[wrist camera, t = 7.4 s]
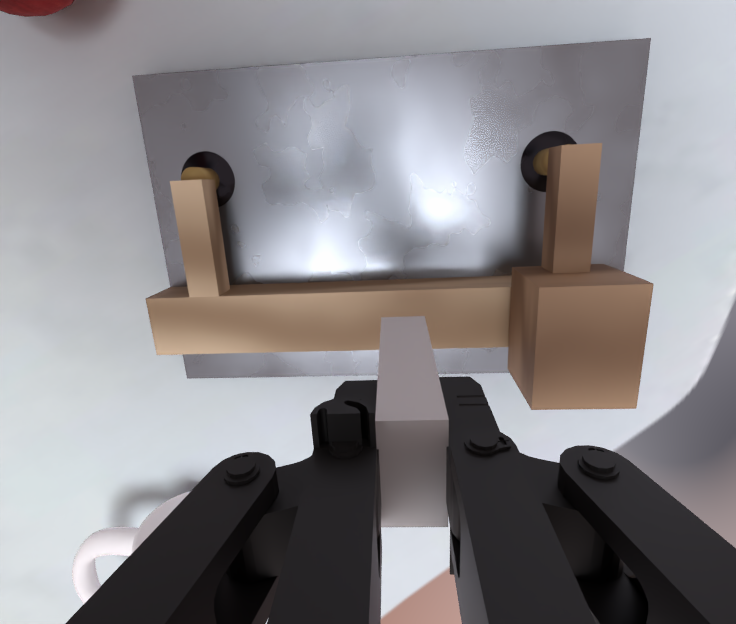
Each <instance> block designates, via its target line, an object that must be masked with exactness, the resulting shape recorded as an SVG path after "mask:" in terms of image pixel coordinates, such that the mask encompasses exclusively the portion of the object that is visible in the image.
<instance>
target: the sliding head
mask: <svg viewBox="0 0 736 624" xmlns="http://www.w3.org/2000/svg"><path fill="white" fill-rule="evenodd" d="M601 152H602V143H592V144H574V145H571V144H566V145H560V146H556V147H551V148H548V149H544V150H541V151H540V152H538V153H537V154H536V156H535V157H534V160H533V167H534V170H535V171H536V172H537V173H538V174H540V175H547V185H546V201H545V217H544V232H543V248H542V264H541V266H528V267H512V278H511V300H510V323H509V345H508V368H507V369H508V370H509V372H510V374H511V376H512V377H513V379H514V381H515V382H516V384H517V386H518V387H519V389H520V391H521V393H522V394H523V396H524V398H525V399H526V401H527V403H528V404H529V406H530V408H531V410H548V409H633V408H636V407H637V399H638V392H639V385H640V378H641V371H642V363H643V356H644V349H645V342H646V334H647V327H648V320H649V313H650V306H651V298H652V291H653V283H650V282H648V281H645V280H643V279H640V278H638V277H635V276H633V275H630V274H628V273H625V272H623V271H620V270H618V269H615V268H613V267H610V266H608V265H605V264H591V257H592V246H593V236H594V225H595V215H596V205H597V194H598V184H599V173H600V163H601Z"/></svg>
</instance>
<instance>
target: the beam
mask: <svg viewBox="0 0 736 624" xmlns="http://www.w3.org/2000/svg"><path fill="white" fill-rule="evenodd" d="M170 186H171V192H172V198H173V204H174V209H175V215H176V221H177V227H178V233H179V239H180V245H181V251H182V257H183V262H184V268H185V274H186V280H187V286H188V287H170V288H168V289H166V290H163V291H161V292H159V293H157V294H155V295H153V296H151V297H148V298H146V303H147V308H148V313H149V318H150V323H151V328H152V333H153V338H154V343H155V348H156V353H157V355H177V354H222V353H266V352H311V351H356V350H379V347H380V331H381V317H410V316H425V320H426V324H427V328H428V333H429V337H430V341H431V346H432V349H446V348H491V347H508V345H509V323H510V300H511V278H512V275H510V276H481V277H452V278H423V279H394V280H364V281H335V282H306V283H277V284H248V285H229V278H228V271H227V264H226V257H225V250H224V242H223V235H222V228H221V221H220V214H219V207H218V200H217V193H216V189H217V188H218V186H219V176H218V175H217V173H216V172H215V171H214V170H212V169H210V168H200V167H189V168H186V169H185V170H184V171H183V172H182V175H181V181H170ZM625 273H626V272H625ZM630 275H631V274H630ZM635 277H636V276H635ZM640 279H641V278H640ZM645 281H646V280H645Z"/></svg>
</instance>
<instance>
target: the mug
mask: <svg viewBox="0 0 736 624" xmlns="http://www.w3.org/2000/svg"><path fill="white" fill-rule="evenodd" d="M190 492H191V491H189V492H185V493H183V494H180V495H178V496H175V497H173V498H171V499H169V500H168V501H166V502H164V503H163V504H161V505H160V506H158V507H157V508H156V509H155V510H153V511H152V512H151V513H150V514H149V515H148V516H147V517H146V519H145V520H144V521H143V522H142V524H141V525H140V527H139V528H134V527H111V528H106V529H102V530H99V531H97V532H95V533H93V534H92V535H90V536H89V537H88V538H87V539H86V540H85V541H84V542H83V543H82V544H81V546H80V547H79V549H78V551H77V553H76V556H75V558H74V562H73V568H72V578H73V583H74V587H75V589H76V592H77V594H78V595H79V597H80V599H81V600H82V602H83V603H84V604H85V603H86V602H87V600H88V599H89V598H90V597H91V596H92V595H93V594H94V593H95V592H96V591H97V590H98V589H99V588H100V587H101V584H100V582H99V579H98V576H97V572H96V565H95V558H97V557H100V556H105V555H122V556H130V555H131V554H132V553H133V552H134V551H135V550H136V549H137V548H138V547H139V546H140V545H141V544H142V542H143V541H144V540H145V539H146V538H147V537H148V536H149V535H150V534H151V533H152V532H153V531H154V530H155V529H156V528H157V527H158V526H159V525H160V523H161V522H162V521H163V520H164V519H165V518H166V517H167V516H168V515H169V514H170V513H171V512H172V511H173V510H174V509H175V508H176V507H177V506H178V505H179V503H180V502H181V501H182V500H183V499H184V498H185V497H186V496H187V495H188V494H189V493H190Z"/></svg>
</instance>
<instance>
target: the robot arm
mask: <svg viewBox="0 0 736 624" xmlns="http://www.w3.org/2000/svg"><path fill="white" fill-rule="evenodd" d="M310 417H311V426H312V436H313V445H314V450H313V454H312V456H311V457H309V458H307V459H305V460H303V461H300V462H297V463H294V464H290V465H286V466H281V467H277V468H276V466H275V461H274V460H273V459H272V458H271V457H270V456H269V455H266V454H263V453H260V452H246V453H240V454H237V455H233V456H231V457H229V458H227V459H225V460H223V461H221V462H220V463H219V464H218V465H216V466H215V467H214V468H213V469H212V470H211V471H210V472H209V473H208V474H207V475H206V476H205V477H204V478H203V479H202V480H201V481H200V482H199V483H198V484H197V486H196V487H195V488H194V489H193V490H192V491H191V492H190V493H189V494H188V495H187V496H186V497H185V498H184V499H183V500H182V501H181V502H180V503H179V505H178V506H177V507H176V508H175V509H174V510H173V511H172V512H171V513H170V514H169V515H168V516H167V517H166V518H165V519H164V520H163V521H162V522H161V523H160V525H159V526H158V527H157V528H156V529H155V530H154V531H153V532H152V533H151V534H150V535H149V536H148V537H147V538H146V539H145V540H144V541H143V542H142V544H141V545H140V546H139V547H138V548H137V549H136V550H135V551H134V552H133V553H132V554H131V555H130V556H129V557H128V558H127V559H126V560H125V561H124V563H123V564H122V565H121V566H120V567H119V568H118V569H117V570H116V571H115V572H114V573H113V574H112V575H111V576H110V577H109V578H108V579H107V580H106V581H105V583H104V584H103V585H102V586H101V587H100V588H99V589H98V590H97V591H96V592H95V593H94V594H93V595H92V596H91V597H90V598H89V599H88V600H87V602H86V603H85V604H84V605H83V606H82V607H81V608H80V609H79V610H78V611H77V612H76V613H75V614H74V615H73V616H72V617H71V618H70V619H69V620H68V622H67V623H66V624H265V623H266V621H267V619H268V618H269V619H268V622H267V624H380V619H381V565H382V540H381V527H448V516H449V522H450V574H454V575H455V582H456V588H457V594H458V601H459V607H460V614H461V620H462V624H736V548H734V547H733V546H732V545H731V544H730V543H728V542H727V541H726V540H725V539H723V538H722V537H721V536H720V535H719V534H718V533H716V532H715V531H714V530H713V529H711V528H710V527H709V526H708V525H707V524H705V523H704V522H703V521H702V520H700V519H699V518H698V517H697V516H696V515H694V514H693V513H692V512H691V511H690V510H688V509H687V508H686V507H685V506H683V505H682V504H681V503H680V502H679V501H677V500H676V499H675V498H674V497H673V496H671V495H670V494H669V493H668V492H666V491H665V490H664V489H663V488H662V487H660V486H659V485H658V484H657V483H655V482H654V481H653V480H652V479H651V478H649V477H648V476H647V475H646V474H645V473H643V472H642V471H641V470H640V469H639V468H637V467H636V466H635V465H634V464H632V463H631V462H630V461H629V460H627V459H625V458H624V457H622V456H621V455H619V454H618V453H615V452H613V451H610V450H607V449H605V448H601V447H597V446H596V447H595V446H589V445H587V446H574V447H571V448H568V449H566V450H565V451H564V452H563V453H562V454H561V455H560V463H557V462H551V461H546V460H541V459H537V458H533V457H529V456H526V455H524V454H522V453H519V451H518V448H517V446H516V445H515V443H514V442H513V441H512V439H511V438H509V437H508V436H506V435H505V434H503V433H501V432H500V431H499V428H498V426H497V423H496V421H495V419H494V416H493V414H492V411H491V409H490V406H488V402H487V399H486V397H485V394H484V392H483V390H482V387H481V385H480V384H479V383H477V382H476V381H475V380H473V379H472V378H471V377H439V376H438V371H437V367H436V363H435V359H434V354H433V350H432V346H431V341H430V337H429V333H428V328H427V324H426V320H425V316H410V317H381V331H380V347H379V364H378V380H364V381H345V382H344V383H343V384H342V385H341V386H340V387H339V388H337V389H336V392H335V396H334V399H332V400H329V401H326V402H323V403H321V404H320V405H318V406H317V407H315V408H314V410H313V411H312V413H311V414H310Z"/></svg>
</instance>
